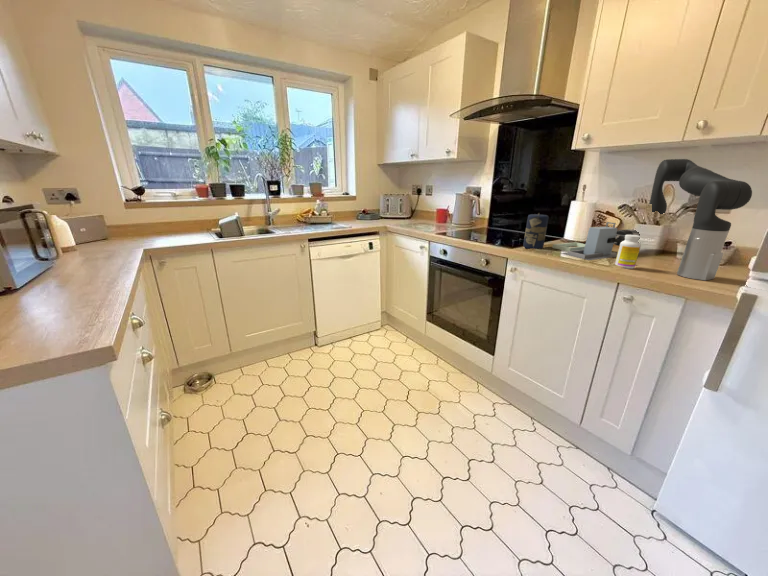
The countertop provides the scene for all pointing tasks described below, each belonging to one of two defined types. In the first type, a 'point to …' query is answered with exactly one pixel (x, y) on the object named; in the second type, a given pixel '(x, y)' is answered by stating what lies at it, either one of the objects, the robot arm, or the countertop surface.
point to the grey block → (600, 239)
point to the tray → (566, 245)
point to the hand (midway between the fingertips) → (602, 239)
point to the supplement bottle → (628, 252)
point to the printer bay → (589, 255)
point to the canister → (535, 231)
